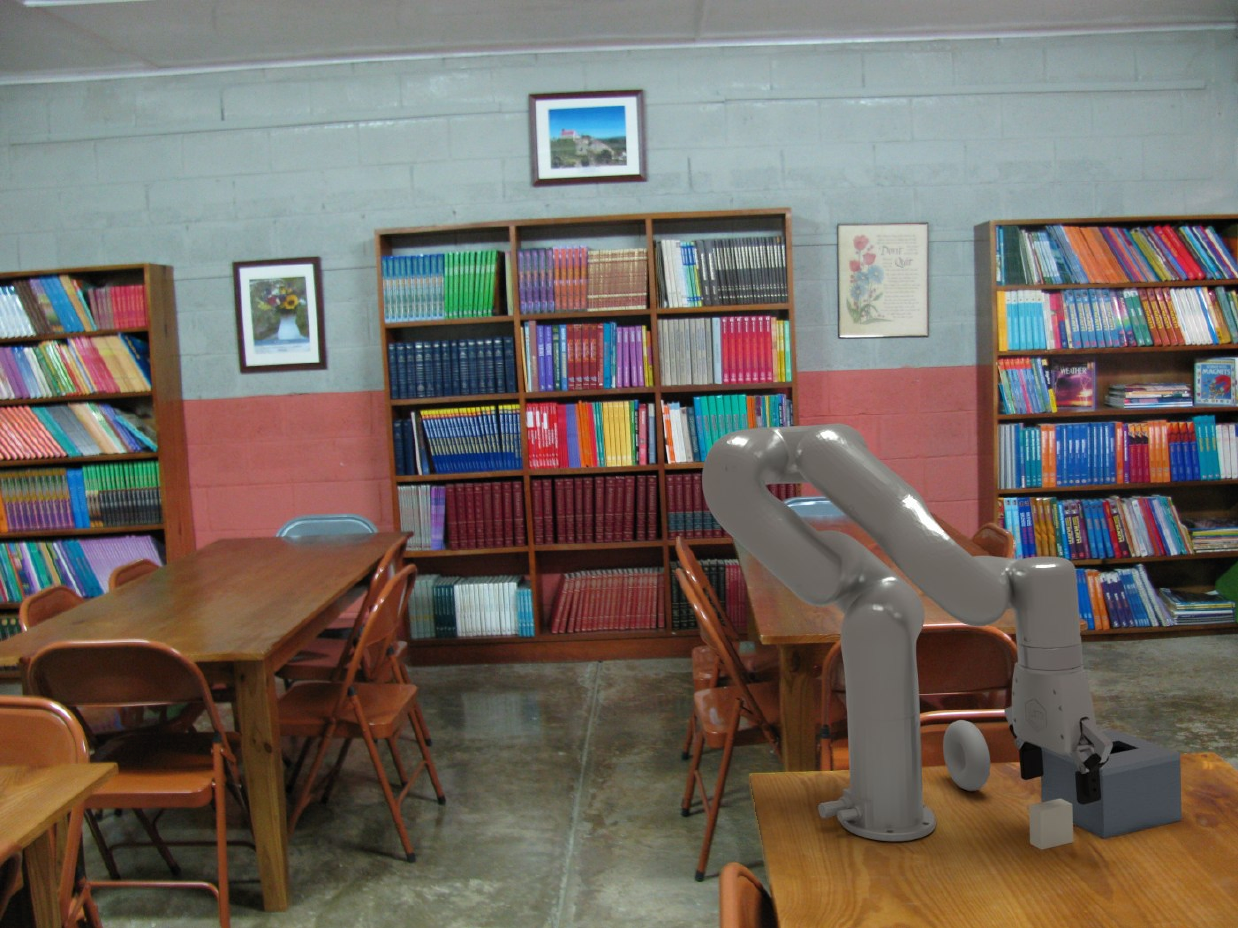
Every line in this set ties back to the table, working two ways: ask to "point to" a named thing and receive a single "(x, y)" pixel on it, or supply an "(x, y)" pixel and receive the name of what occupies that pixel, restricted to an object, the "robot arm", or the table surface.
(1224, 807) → the table surface
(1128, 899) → the table surface
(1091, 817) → the box
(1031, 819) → the token
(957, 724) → the donut
